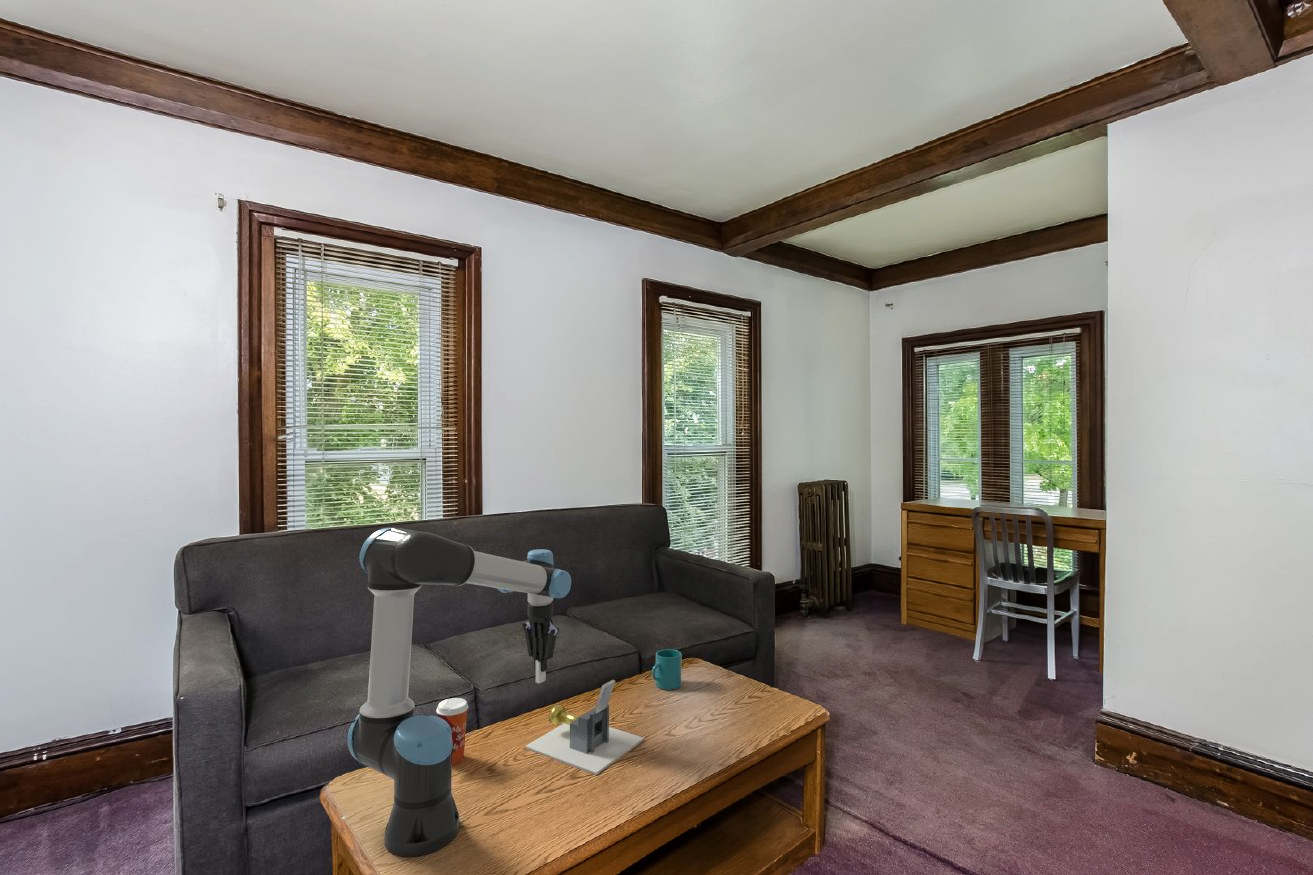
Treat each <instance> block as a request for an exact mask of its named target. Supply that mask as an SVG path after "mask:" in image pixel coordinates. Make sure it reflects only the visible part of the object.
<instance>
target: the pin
mask: <svg viewBox="0 0 1313 875" xmlns="http://www.w3.org/2000/svg"><path fill="white" fill-rule="evenodd" d="M580 716H581V715H577V714H575V713H571V712H568V711H567V709H566V707H565V706H563V705H560V704H555V705H553V706H552V707H551V709H550V711H549V714H548V721H549V723H550V724H552V725H554V726H561V725H562V724H564V723H565V724H568V725H570V723H571V722H573V721H575V720H576V719H578V717H580Z"/></svg>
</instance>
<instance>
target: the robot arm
mask: <svg viewBox="0 0 1313 875" xmlns="http://www.w3.org/2000/svg"><path fill="white" fill-rule="evenodd" d="M359 563H360V566H361V568H362V569H363V571H364V573H366V574H367V575H368V578H367V590H369V591H370V592H371V594H373V595H374V598H373V611H372V612H373V614H372V627H371V628H372V629H371V641H370V642H371V644H370V658H369V671H368V672H369V673H368V674H369V675H368V678H369V679H368V687H367V688H368V689H367V700H366V702H365V703H363V705H361V706H360V708H359V714H358V715H357V716H356V717H355V718H354V720H355V721H354V722H352V723H351V725H350V727H349V730H348V733H347V748H348V750H349V753H350V754H351V756H352V757H353V758H354V759H355V760H356V761H358V763H359V764H361V765H363V766H364V767H366V768H370V769H373V770H374V771H377V772H378V773H380V774H382V775H384V776H386V777H388V778H390V779H392V780H393V781H394V782H393V786H394V788H393V789H394V790H393V805H392V808H391V812H390V814H389V818H388V822H387V824H386V827H385V829H384V845H385V848H386V849H387V850H388V851H389V852H390V853H391V854H393V855H397V856H402V857H418V856H423V855H427V854H431V853H433V852H436V851H438V850H440V849H442V848H444V847H445V846H447V845H448V844H449V843H451V842H452V841H453V840H454V839H455V837H456V836H457V835H458V833H459V830H460V814H459V810H458V808H457V805H456V802H455V800H454V796H453V792H452V777H453V776H452V775H453V774H452V772H453V771H452V769H453V765H452V746H453V741H452V734H451V728H450V726H449V724H448V723H447V722H446V721H445V720H443V719H442V718H439V717H438V716H436V715H429V716H426V714H422V715H421V714H420V715H415V702H414V700H412V699H411V698H410V697H409V689H410V688H409V687H410V672H411V657H412V656H411V655H412V654H411V653H412V638H413V623H414V622H413V621H414V620H413V619H414V606H415V605H414V602H415V594H416V593H417V592H418V590H420V589H421V588H422V586H423V585H436V586H437V585H441V586H442V585H444V586H446V585H447V586H452V587H453V586H454V587H460V586H461V587H462V586H463V585H465V584H468V585H470V584H471V585H475V586H483V587H489V588H494V589H497V590H498V591H499V592H500V593H503V594H508V593H513V592H519V593H520V592H521V593H526V594H527V602H528V603H527V616H528V620H527V621H526V622H524V623H522V624H521V625H522V629H523V631H524V634H525V635H524V636H525V640H526V648H527V652H528V656H529V657H532V658H533V659H532V660H534V661H533V665H534V666H533V667H534V670H535V683H536V684H541V683H543V682H545V681H546V674H547V673H546V671H547V670H548V661H549V660H550V659H553V658H554V652H555V646H556V641H557V635H558V634H559V632H560V628H559V627H555V626H554V621H553V615H554V603H553V601H554V599H563V598H565V597H566V596H567V595H568V593H570V591H571V587H572V586H571V585H572V578H571V575H570V573H569V572H568V571H566V570H563V569H560V568H554V565H555V563H554V554H553V552H552V551H551V550H550V549H541V548H540V549H539V548H538V549H532V550H530V551H528V552H527V557H526V560H523V561H522V560H516V559H512V558H507V557H503V556H497V555H494V554H490V553H485V552H480V551H476V550H474V548H473V547H471V546H470V545H469V544H465V543H461V542H457V541H456V540H455V541H454V540H451V539H448V538H446V537H443V536H441V535H438V534H435V533H432V532H428V531H420V530H413V529H407V528H403V527H384V528H380V529H379V530H376V531H375V532H373V533H372V534H371V535H369V537H367V539H366V540H365V541H364V542H363V544H362V547H361V549H360V552H359Z"/></svg>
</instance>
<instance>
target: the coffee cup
mask: <svg viewBox="0 0 1313 875" xmlns="http://www.w3.org/2000/svg"><path fill="white" fill-rule="evenodd" d="M468 709H469V705H468V702H467V700H466V699H465V698H461V697H452V698H447V699H444V700H442V701H440V702H439V703H438V705H437V707H436V711H435V712H436V714H437V717H439V718H442V719H443V720H445V721H446V722H447V723H448V724H449V726H450V728H451V734H452V741H453V746H452V766H454V765H455V766H456V765H457V764H460V763H461V762H463V760H464V758H465V746H466V745H465V744H466V733H467V732H466V731H467V720H468V719H467V718H468V717H467V716H468Z"/></svg>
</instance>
